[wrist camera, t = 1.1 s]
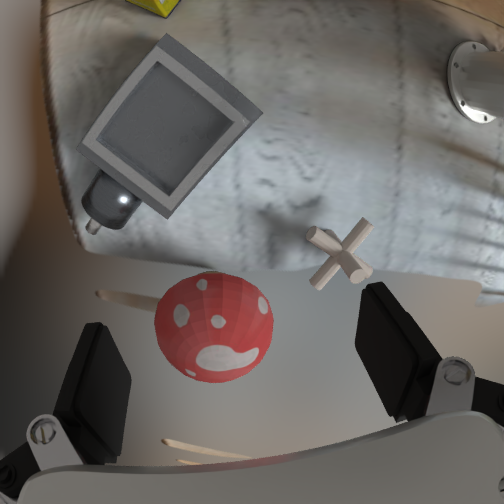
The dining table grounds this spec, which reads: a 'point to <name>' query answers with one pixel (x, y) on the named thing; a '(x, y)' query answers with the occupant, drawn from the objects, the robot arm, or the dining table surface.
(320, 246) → the pipe connector
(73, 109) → the dining table surface
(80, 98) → the dining table surface
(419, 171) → the dining table surface
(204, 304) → the decorative mushroom
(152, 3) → the supplement box
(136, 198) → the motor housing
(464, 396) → the robot arm
